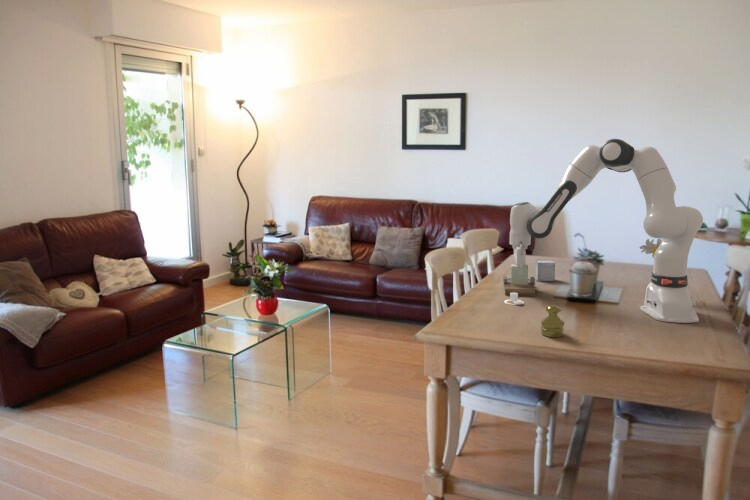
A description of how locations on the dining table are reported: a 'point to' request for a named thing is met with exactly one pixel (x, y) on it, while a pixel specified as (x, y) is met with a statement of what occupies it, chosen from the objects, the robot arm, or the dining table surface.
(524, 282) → the green block
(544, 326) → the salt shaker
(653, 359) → the dining table surface
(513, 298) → the teacup and saucer
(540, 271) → the medicine box
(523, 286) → the stand
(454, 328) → the dining table surface
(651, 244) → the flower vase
